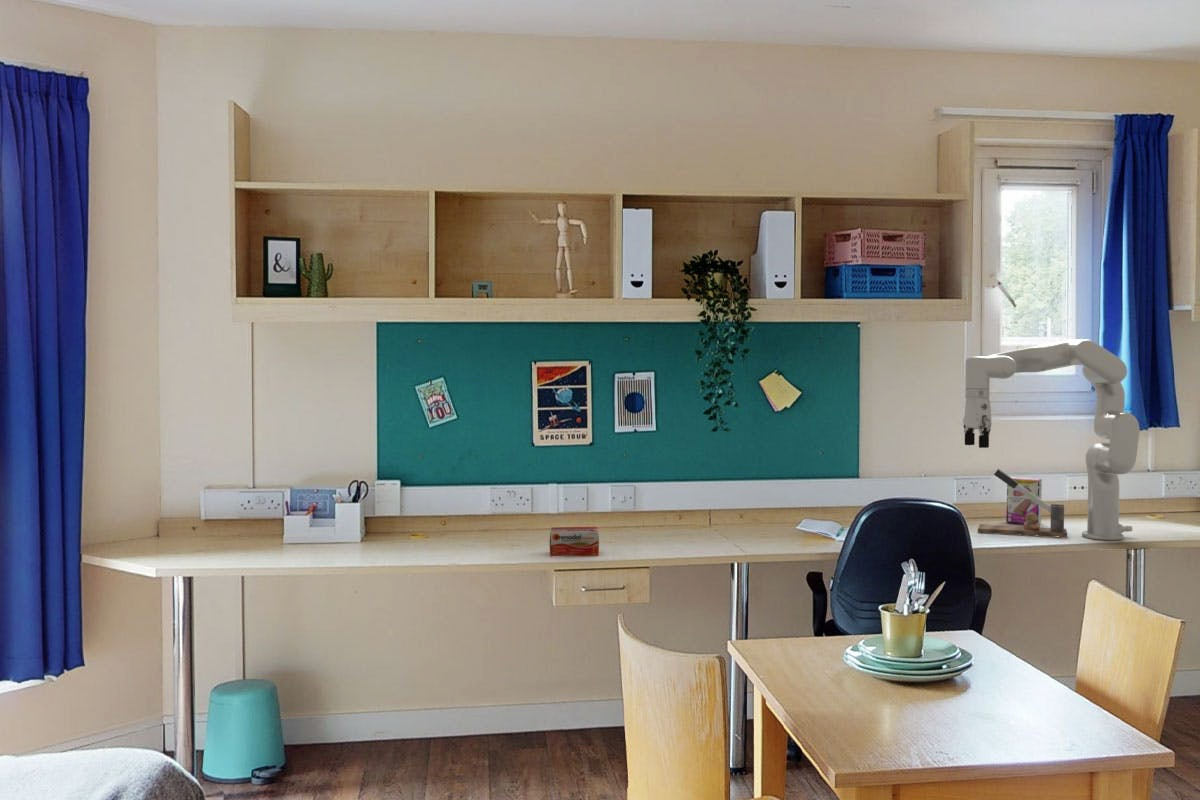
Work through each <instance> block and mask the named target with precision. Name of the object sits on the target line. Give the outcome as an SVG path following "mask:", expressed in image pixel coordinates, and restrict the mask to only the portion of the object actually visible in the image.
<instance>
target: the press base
mask: <svg viewBox="0 0 1200 800" xmlns="http://www.w3.org/2000/svg"><path fill="white" fill-rule="evenodd" d="M1050 506H1051V513H1050V527H1041V526H1040V524H1039V523H1037V521H1038V516H1037V515H1036V514H1035V513H1029V514H1027V515H1026V522H1025V523H1024V524H1023V525H1024V526H1020V525H1005V524H1004V525H1003V524H984V523H979V525H978V527H977V528H978V530H977V531H978V532H983V533H982V534H990V533H1001V534H1000V535H1008V534H1021V535H1020V536H1025V535H1038V536H1037V537H1043V536H1059V537H1058V538H1061V537H1067V538H1068V530H1067V528H1065V506H1064V504H1058V503H1057V504H1056V503H1050Z"/></svg>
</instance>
